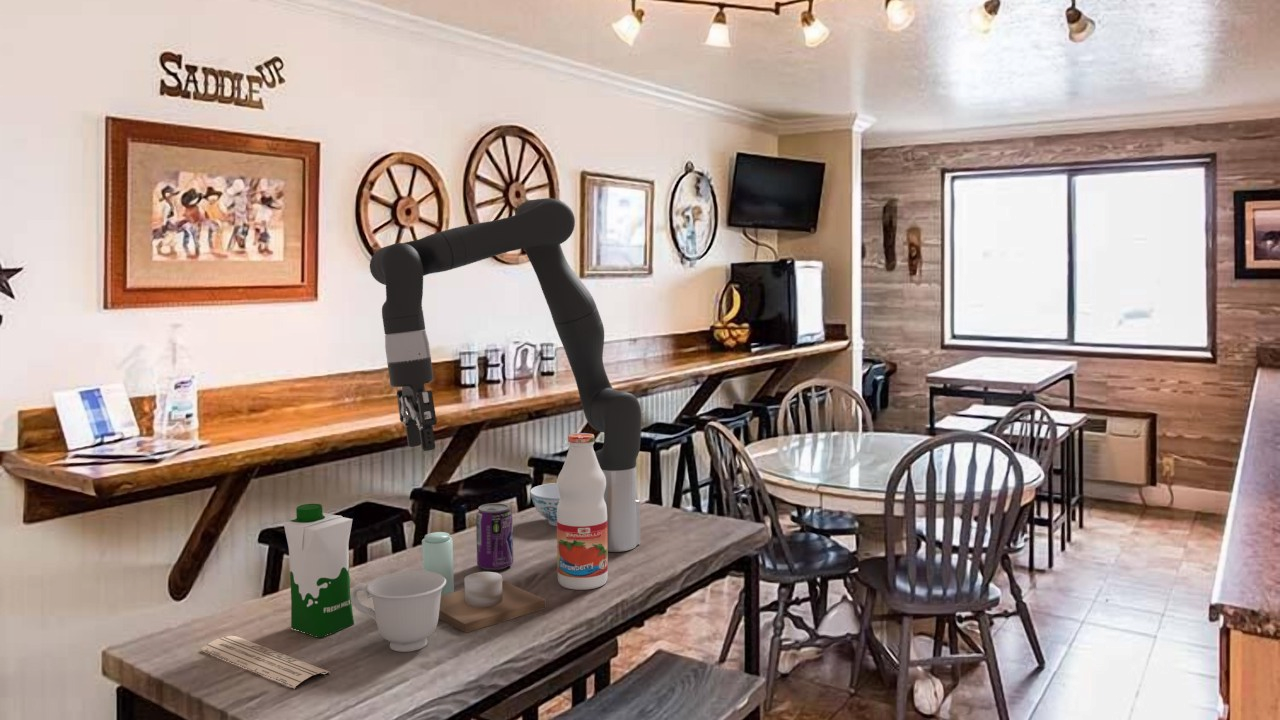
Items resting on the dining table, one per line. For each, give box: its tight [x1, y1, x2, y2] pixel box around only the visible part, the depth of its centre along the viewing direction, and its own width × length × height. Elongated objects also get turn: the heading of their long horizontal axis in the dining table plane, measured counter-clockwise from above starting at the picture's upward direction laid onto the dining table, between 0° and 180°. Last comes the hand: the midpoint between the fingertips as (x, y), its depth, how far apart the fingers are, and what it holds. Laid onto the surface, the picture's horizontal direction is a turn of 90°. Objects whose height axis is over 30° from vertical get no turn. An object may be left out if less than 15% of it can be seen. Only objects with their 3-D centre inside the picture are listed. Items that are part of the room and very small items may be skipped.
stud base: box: [438, 571, 546, 634], centre depth 158 cm, size 16×14×6 cm
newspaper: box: [200, 635, 331, 688], centre depth 138 cm, size 24×7×2 cm, turn 56°
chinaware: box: [529, 482, 560, 527], centre depth 212 cm, size 15×15×8 cm
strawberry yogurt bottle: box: [556, 432, 609, 591], centre depth 170 cm, size 9×9×28 cm
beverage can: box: [475, 502, 514, 571], centre depth 181 cm, size 7×7×12 cm
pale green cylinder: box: [421, 531, 455, 596], centre depth 166 cm, size 5×5×11 cm
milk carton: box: [283, 503, 355, 638], centre depth 150 cm, size 9×9×20 cm
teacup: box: [350, 570, 446, 653], centre depth 143 cm, size 12×15×10 cm
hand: (421, 448), depth 163 cm, fingers open, 8 cm apart
